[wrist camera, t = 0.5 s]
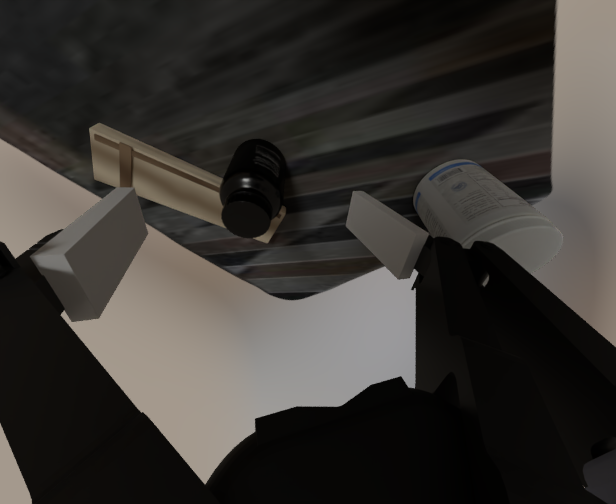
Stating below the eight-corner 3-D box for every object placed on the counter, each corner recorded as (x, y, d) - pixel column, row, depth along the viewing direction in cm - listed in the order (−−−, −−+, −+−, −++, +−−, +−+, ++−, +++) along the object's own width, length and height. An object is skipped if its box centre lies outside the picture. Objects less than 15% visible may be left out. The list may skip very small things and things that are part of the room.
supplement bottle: (223, 150, 29) (192, 205, 20) (270, 127, 27) (257, 177, 19) (252, 193, 33) (237, 252, 25) (294, 176, 32) (292, 234, 23)
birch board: (99, 122, 26) (87, 128, 25) (286, 207, 35) (285, 215, 34) (102, 172, 30) (93, 180, 29) (268, 236, 39) (267, 244, 38)
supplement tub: (449, 219, 38) (504, 293, 28) (398, 208, 36) (438, 284, 26) (497, 164, 31) (593, 236, 21) (438, 147, 29) (512, 218, 19)
